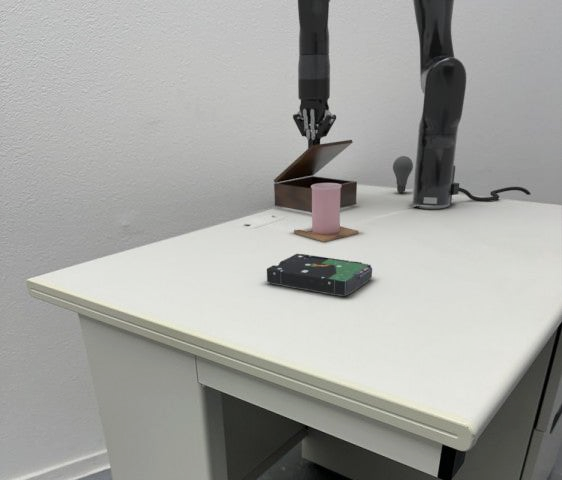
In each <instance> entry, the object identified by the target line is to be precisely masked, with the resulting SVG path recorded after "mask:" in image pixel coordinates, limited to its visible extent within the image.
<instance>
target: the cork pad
mask: <svg viewBox="0 0 562 480" xmlns="http://www.w3.org/2000/svg"><path fill="white" fill-rule="evenodd" d="M293 234H295V235H299V236H302V237H305V238H309V239H312V240H316V241H319V242H322V243H326V242H329V241H330V242H331V241H335V240H338V239H341V238H346V237H350V236H354V235H357V234H359V230H356V229H352V228H349V227H344V226H340V231H339V232H337V233H334V234H317V233H314V232H312V229H311V230H307V231H305V230H302V229H296V230H293Z"/></svg>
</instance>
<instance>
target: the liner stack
mask: <svg viewBox="0 0 562 480" xmlns="http://www.w3.org/2000/svg"><path fill="white" fill-rule="evenodd" d="M311 188H312V212H311V230H312V232H314V233H317V234H334V233H337V232H339V231H340V225H341V208H340V188H341V184H337V183H318V184H313V185H311Z"/></svg>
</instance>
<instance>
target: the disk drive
mask: <svg viewBox="0 0 562 480" xmlns="http://www.w3.org/2000/svg"><path fill="white" fill-rule="evenodd" d="M372 277H373V267H372V264H369V263H363V262H361V261H352V260H345V259H339V258H332V257H325V256H318V255H311V254H305V253H295V254H293V255H292V256H290V257H287V258H285V259H283V260H281V261H280V262H279V263H278V265H271V266H269V267H267V268H266V282H267V283H271V284H273V285H278V286H284V287H289V288H294V289H300V290H307V291H313V292H315V293H322V294H326V295H327V294H328V295H334V296H340V297H342V296H344V297H347V296H348V295H350V294H351V293H353V292H355V291H356V290H357V289H358V288H360V287H361V286H363V285H364V284H366V283H367V282H368V281H370V279H372Z"/></svg>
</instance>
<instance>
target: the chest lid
mask: <svg viewBox="0 0 562 480" xmlns="http://www.w3.org/2000/svg"><path fill="white" fill-rule="evenodd" d="M353 143H354V141H353V140H352V139H346V140H340V141H339V140H338V141H333V142H332V141H331V142H325V143H320V144H318V145H312V146H311V147H309V148H308V147H307V148H306V150H305V151H304V152H303V153H302V154H300V155H299V156H298V157H297V158H296V159H295V160H294V161H293V162H291V164H289V165H288V166H287V167H286V168H285V169H284V170H283V171H282V172H281V173H280V174H278V175H277V176H276V177H275V178H274V179H273V183H279V182H284V181H290V180H295V179H300V178H305V177H310V176H316V174H317V173H318V172H320V171H321V170H322V169H323V168H325V166H327V165H328V164H329V163H331V162H332V161H333V160H334V159H335V158H336V157H338V156H339V155H340V154H341V153H342V152H344V150H346V149H347V148H348V147H349V146H351V145H352V144H353Z"/></svg>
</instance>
